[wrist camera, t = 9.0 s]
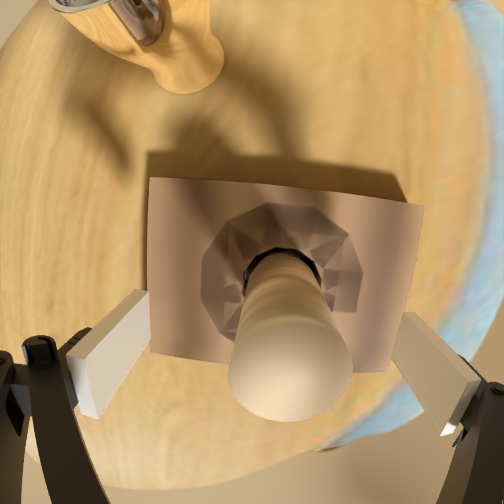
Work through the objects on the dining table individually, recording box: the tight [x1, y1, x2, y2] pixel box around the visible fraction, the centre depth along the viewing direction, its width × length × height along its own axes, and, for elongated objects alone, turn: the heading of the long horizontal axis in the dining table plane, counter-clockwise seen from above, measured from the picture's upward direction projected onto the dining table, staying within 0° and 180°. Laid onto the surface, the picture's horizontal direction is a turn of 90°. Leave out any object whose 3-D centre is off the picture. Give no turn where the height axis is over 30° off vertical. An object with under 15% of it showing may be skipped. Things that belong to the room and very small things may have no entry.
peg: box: [228, 249, 353, 422], centre depth 18 cm, size 5×5×14 cm
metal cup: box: [48, 0, 225, 94], centre depth 14 cm, size 7×7×15 cm
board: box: [147, 177, 424, 372], centre depth 23 cm, size 20×14×3 cm
